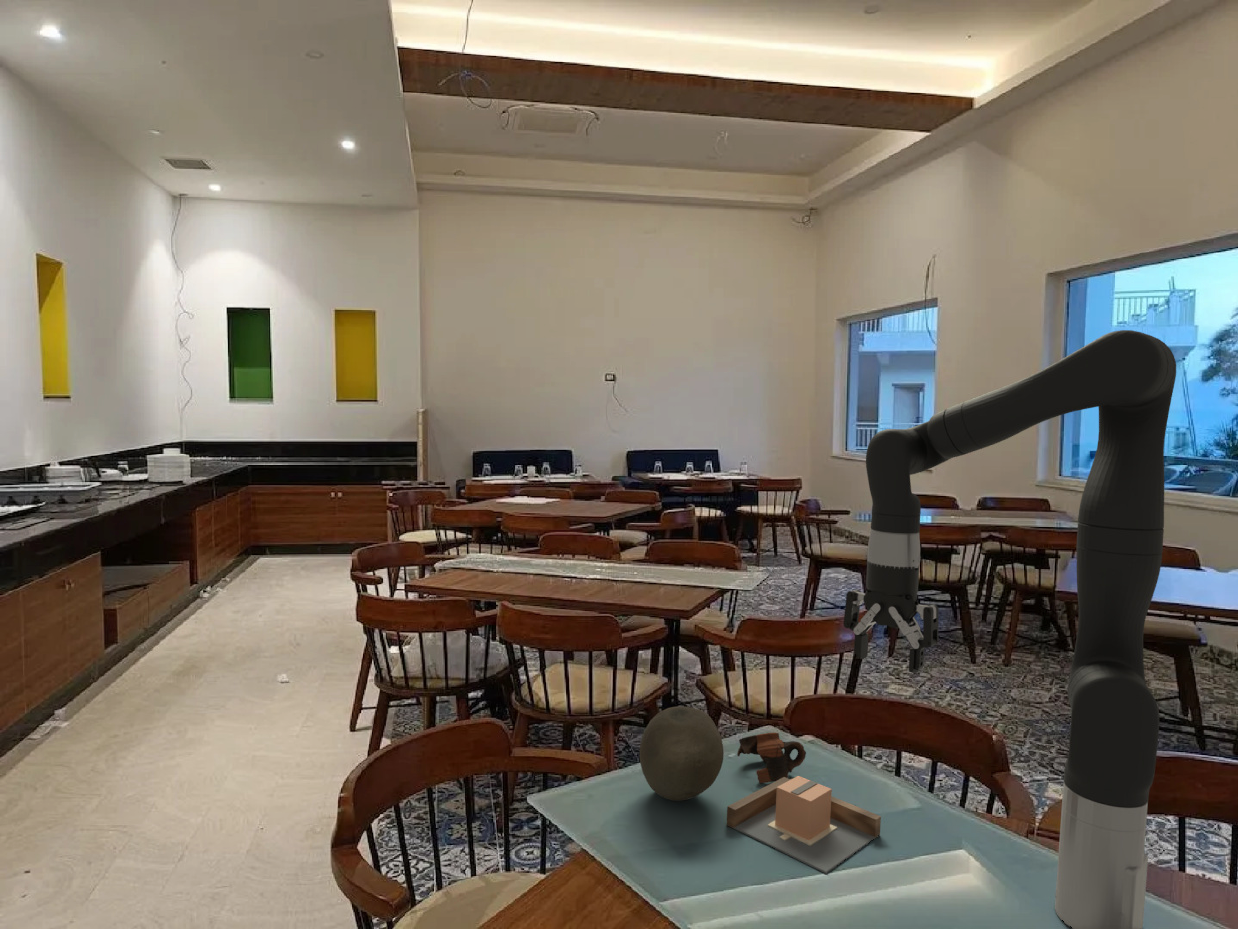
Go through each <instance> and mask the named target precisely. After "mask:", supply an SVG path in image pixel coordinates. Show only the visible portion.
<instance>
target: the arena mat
mask: <svg viewBox="0 0 1238 929" xmlns="http://www.w3.org/2000/svg"><path fill="white" fill-rule="evenodd" d="M775 815H776V804H775V805H773V806H771V807H770V808H768V809H766V810H764V811H762V812H761V813H759V814H757V815H755V816H753V817H752V818H750V819H748V820H746V821H744V822H743V823H741V824H739V825H737V826H735V827H734V830H735V831H738V832H740V833H742V834H743V835H746V836H747V837H750V838H752V839H754V840H756V841H759V842H760V843H762V844H764V845H767V846H768V847H770V846H771V848H772V847H773V849H774V848H775V850H776V851H778V852H781V853H783V854H784V855H787V856H789V857H791V858H792V859H795V860H796V861H799V862H801V863H803V864H805V865H807V866H810V867H811V868H814V869H816V870H817V871H820V872H821V873H824V874H828V873H829V872H831V871H832V870H833V869H834V868H836V867H838V866H839V865H840V863H841V864H842V863H843V862H845V861H846V860H847V858H848V859H849V858H850V857H852V856H853V855H855V854H856V853H857V852H859V851H860V850H862V849H863V848H864V847H866V846H867V845H869V844H870V843H871V842H872V841H871V840H873V839H874V840H875V837H874V836H872V835H870V834H867V833H865V832H863V831H860V830H858V829H856V828H853V827H851V826H849V825H846V824H844V823H842V822H839V821H837V820H835V819H832V818H830V827H829V828H827V829H826V830H824V831H823V832H821V833H819V834H818V835H816V836H815V837H813V838H812V839H810V840H807V839H805V838H803V837H800V836H798V835H796V834H794V833H792V832H789V831H787V830H785V829H783V828H781V827H779V826H776V825H775ZM874 840H873V841H874ZM870 841H871V842H870ZM869 842H870V843H869ZM868 843H869V844H868ZM865 845H866V846H865ZM863 846H864V847H863ZM862 847H863V848H862ZM861 848H862V849H861ZM858 850H859V851H858ZM855 852H856V853H855ZM854 853H855V854H854ZM845 859H846V860H845ZM844 860H845V861H844ZM837 865H838V866H837Z"/></svg>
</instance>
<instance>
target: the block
mask: <svg viewBox="0 0 1238 929" xmlns="http://www.w3.org/2000/svg"><path fill="white" fill-rule="evenodd" d="M832 789H833V788H830V787H827V786H825V785H822V784H820V783H819V782H818V783H817V782H815V781H812V780H809V779H807V778H804V777H803V776H799V775H797V776H795V777H794V778H790V780H789V781H787V782H786V783H784V784H782V785H780V786H778V787H777V794H776V815H775V825H776V826H779V827H781V828H783V829H785V830H787V831H789V832H792V833H794V834H796V835H798V836H800V837H803V838H805V839H807V840H810V839H812V838H813V837H815V836H816V835H818V834H819V833H821V832H823V831H824V830H826V829H827V828H829V827H830V814H831V796H832Z"/></svg>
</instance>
